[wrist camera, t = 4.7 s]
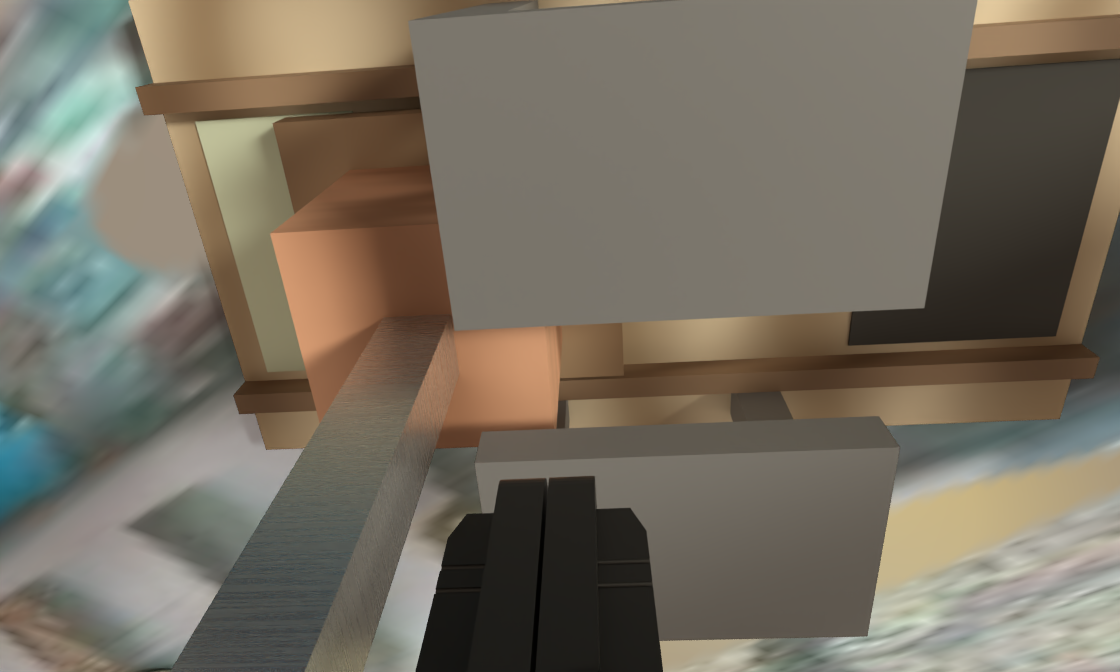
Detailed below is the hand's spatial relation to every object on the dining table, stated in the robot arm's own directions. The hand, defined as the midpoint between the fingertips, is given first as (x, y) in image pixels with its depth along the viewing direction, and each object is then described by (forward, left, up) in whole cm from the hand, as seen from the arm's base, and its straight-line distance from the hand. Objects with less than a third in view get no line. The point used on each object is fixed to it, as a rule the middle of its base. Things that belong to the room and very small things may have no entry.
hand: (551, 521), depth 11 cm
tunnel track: (-3, 0, -15) cm, 16 cm away
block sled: (+3, 0, -13) cm, 14 cm away
